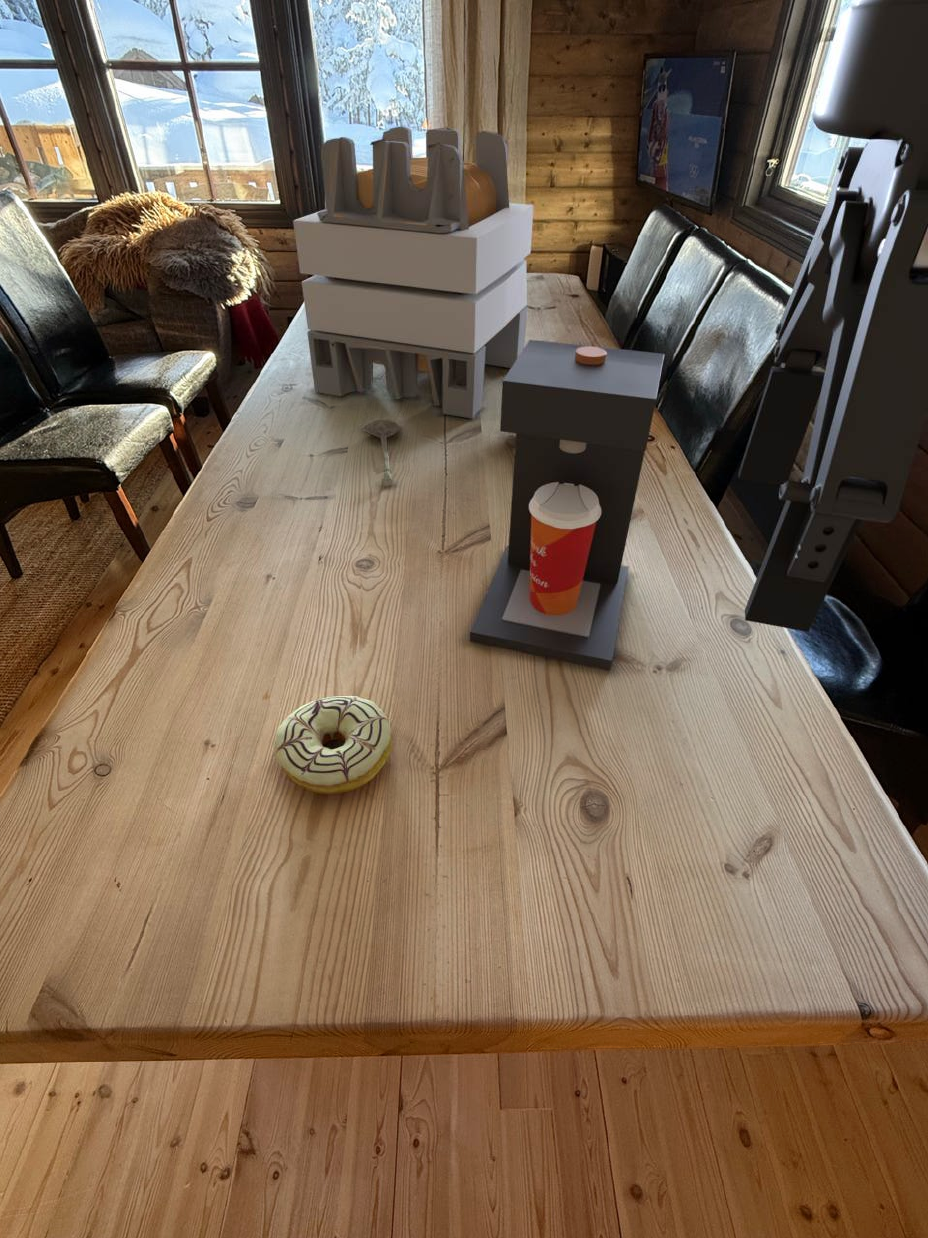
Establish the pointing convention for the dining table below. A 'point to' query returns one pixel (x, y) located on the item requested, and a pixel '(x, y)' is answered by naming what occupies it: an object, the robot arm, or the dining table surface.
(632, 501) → the coffee maker
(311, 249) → the transformer
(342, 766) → the decorated donut
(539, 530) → the paper cup
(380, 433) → the soupspoon
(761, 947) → the dining table surface
